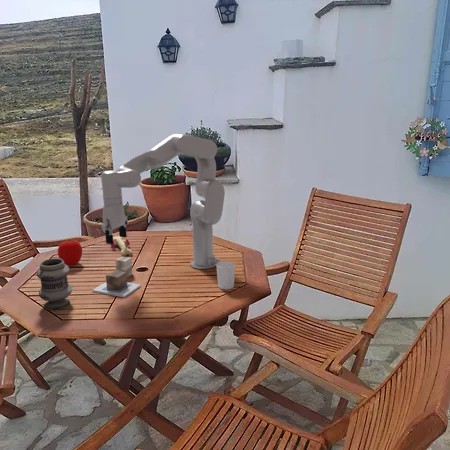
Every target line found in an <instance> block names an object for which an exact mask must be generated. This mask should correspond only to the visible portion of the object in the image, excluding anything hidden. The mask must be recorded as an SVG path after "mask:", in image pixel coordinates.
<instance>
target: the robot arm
mask: <svg viewBox="0 0 450 450" xmlns="http://www.w3.org/2000/svg"><path fill="white" fill-rule="evenodd" d="M217 153H218V146H217V144H216V143H215V141H213V140H211V139H207V138H203V137H202V138H201V137H199V136H198V137H197V136H193V135H189V134H186V133H185V134H184V133H173V134H171V135H169V136H168V137H166V138H165V139H164V140H162V141H160V142H159V143H158V144H157V145H155V146H153V147H152V148H151V149H149V150H148V151H147V150H146V152H143V153H141V154H139V155H137V156H135V157H133V158H131V159H129V160H128V161H127V162H125V163H124V164H123V165H120V166H119V168H118V169H117V170H110V169H109V170H105V171H102V172H101V174H100V175H101V176H100V178H101V187H102V197H103V205H102V206H103V207H102V225H101V227H100V228H101V230H102V233H103V234H104V235H105V243H106V244H107V245H111V244H113V237H114V236H113V232H114V231H113V230H115V229H118V231H119V235H118V236H120V237H122V238H127V237H128V236H127V235H128V234H127V227H128V226H127V224H128V219H129V218H128V216H127V215H126V214H125V208H124V204H123V203H124V202H123V193H122V188H127V189H129V188H136V187H138V186H139V185H140V184H141V181H142V176H141V174H142V173H144V172H146V171H150V170H156V169H158V168H162V167H163V166H165V165H166V164H168V163H169V162H170V161H172V160H173V159H174V158H176V157H177V156H179V155H183V156H187V157H191V158H194V159H195V161H196V164H197V172H196V173H197V174H196V181H195V188H194V189H195V193H196V195H197V196H199V197H200V198H203V199H198V200H195V201H194V202H192V204H191V205H190V208H189V214H190V215H189V216H190V220H191V224H192V225H191V226H192V227H191V228H192V252H193V255H192V258H193V260H191V261H190V262H189V263H190V266H191V267H192V268H193V269H198V270H206V269H212V268H214V267H217V266H216V264H217V263H219V262H222V261H221V258H217V257H216V255H215V254H214V236H213V235H214V232H213V231H214V230H213V229H214V228H213V226H214V225H217V224H218V223H219V222H220V220H221V218H222V215H223V210H224V203H225V195H226V194H225V193H226V192H225V187H224V184H223V183H222V182H221V181H220V180H217V179H216V178H217V177H216V175H217V163H216V159H215V156H216V155H217Z"/></svg>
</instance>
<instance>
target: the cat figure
mask: <svg viewBox="0 0 450 450" xmlns="http://www.w3.org/2000/svg"><path fill="white" fill-rule="evenodd" d="M130 244H131V243H130V241H129V239H127V238H124V237H120V235H116V236H113V244H110V247H111V248H112V249H113V250H116V247H115V246H118V247H119V249H120V254H121V256H120V257H127V255H128V256H129V257H131V256H133V255H134V253H133V251H132V250H131V249H130V248H129V245H130Z"/></svg>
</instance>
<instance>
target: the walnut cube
mask: <svg viewBox="0 0 450 450" xmlns="http://www.w3.org/2000/svg"><path fill="white" fill-rule="evenodd" d="M105 282H106V284H107V289H112V290H117V291H119V290H121V289H122V288H124V287H125V286H127V282H128V277H127V275H126V272H122V271H116V269H115V270H112V271H111V272H110V273H107V274H105Z"/></svg>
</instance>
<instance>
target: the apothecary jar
mask: <svg viewBox="0 0 450 450" xmlns="http://www.w3.org/2000/svg"><path fill="white" fill-rule="evenodd" d="M69 273H70V266H67V265H66V264H64V261H63V259H60V258H59V257H53V258H48V259H44V260H42V261H40V264H39V268H38V269H37V270H36V276H37V278H38V279H40V284H41V286H40V287H41V288H40V289H39V292H38V296H39V297H40V299H41V300H43V301H46V302H45V303H44V304H43V308H44V309H45V310H48V311H55V310H63V309H65V308H68V307H69V306H70V304H71V300H70V299H68V297H70V296H71V294H72V293H73V292H72V291H73V288H72V285H70V283H69V282H68V274H69Z"/></svg>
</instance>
